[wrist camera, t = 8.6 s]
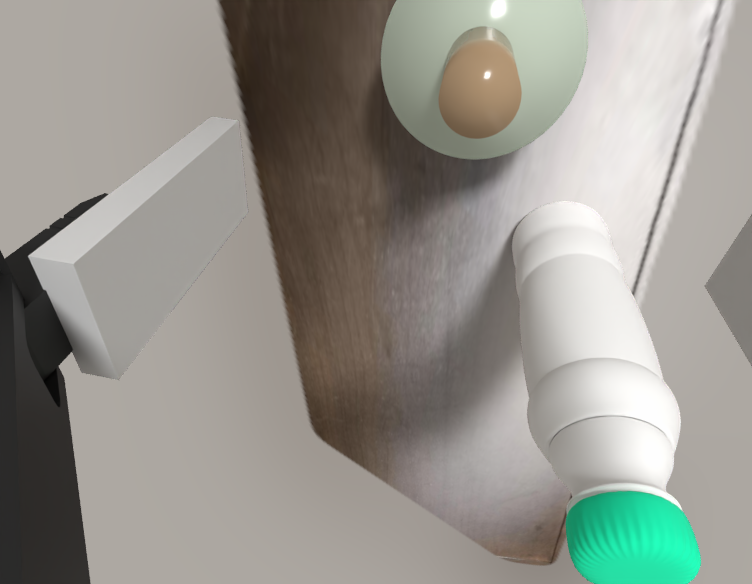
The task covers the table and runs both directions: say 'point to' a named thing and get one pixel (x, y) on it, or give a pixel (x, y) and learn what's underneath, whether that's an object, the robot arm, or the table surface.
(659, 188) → the table surface
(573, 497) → the water bottle
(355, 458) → the table surface
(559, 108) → the lid
